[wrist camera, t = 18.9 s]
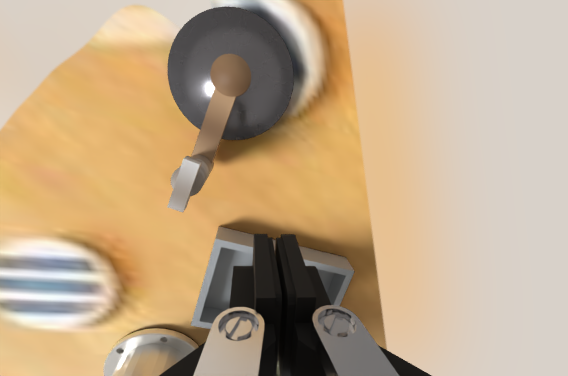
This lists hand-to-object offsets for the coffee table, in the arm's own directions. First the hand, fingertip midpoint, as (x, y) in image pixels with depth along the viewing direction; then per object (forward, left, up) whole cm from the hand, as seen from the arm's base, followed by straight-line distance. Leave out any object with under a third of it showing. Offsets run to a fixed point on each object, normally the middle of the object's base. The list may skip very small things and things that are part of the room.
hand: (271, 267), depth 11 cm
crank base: (+8, +5, -21) cm, 23 cm away
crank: (+3, +5, -19) cm, 20 cm away
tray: (-14, -6, -21) cm, 26 cm away
